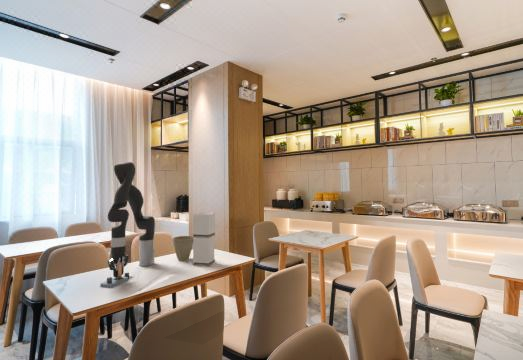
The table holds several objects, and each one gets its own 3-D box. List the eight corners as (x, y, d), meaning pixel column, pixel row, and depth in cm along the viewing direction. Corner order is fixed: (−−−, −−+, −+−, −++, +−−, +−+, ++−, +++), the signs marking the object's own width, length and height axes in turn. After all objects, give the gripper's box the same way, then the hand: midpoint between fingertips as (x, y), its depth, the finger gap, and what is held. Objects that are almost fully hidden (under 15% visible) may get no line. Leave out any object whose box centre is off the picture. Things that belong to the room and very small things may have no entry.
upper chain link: (111, 290, 152) (111, 280, 152) (100, 289, 154) (100, 278, 154) (128, 282, 164) (128, 272, 164) (117, 281, 166) (118, 271, 166)
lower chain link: (124, 278, 171) (124, 271, 171) (134, 279, 169) (134, 272, 169) (108, 285, 159) (108, 278, 159) (118, 286, 157) (118, 279, 157)
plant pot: (168, 261, 207) (168, 239, 207) (180, 256, 221) (180, 235, 222) (186, 263, 203) (186, 240, 203) (197, 257, 217) (197, 236, 217)
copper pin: (118, 282, 163) (118, 261, 164) (122, 283, 163) (123, 262, 163) (114, 284, 161) (114, 263, 161) (118, 285, 160) (119, 263, 160)
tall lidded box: (214, 262, 205) (214, 212, 205) (208, 266, 194) (208, 214, 195) (200, 261, 208) (200, 212, 208) (193, 265, 197) (193, 214, 197)
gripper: (122, 242, 169) (122, 271, 169) (102, 247, 156) (102, 279, 156) (132, 242, 167) (132, 272, 167) (114, 248, 154) (114, 280, 154)
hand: (118, 275), depth 161 cm, fingers open, 3 cm apart
